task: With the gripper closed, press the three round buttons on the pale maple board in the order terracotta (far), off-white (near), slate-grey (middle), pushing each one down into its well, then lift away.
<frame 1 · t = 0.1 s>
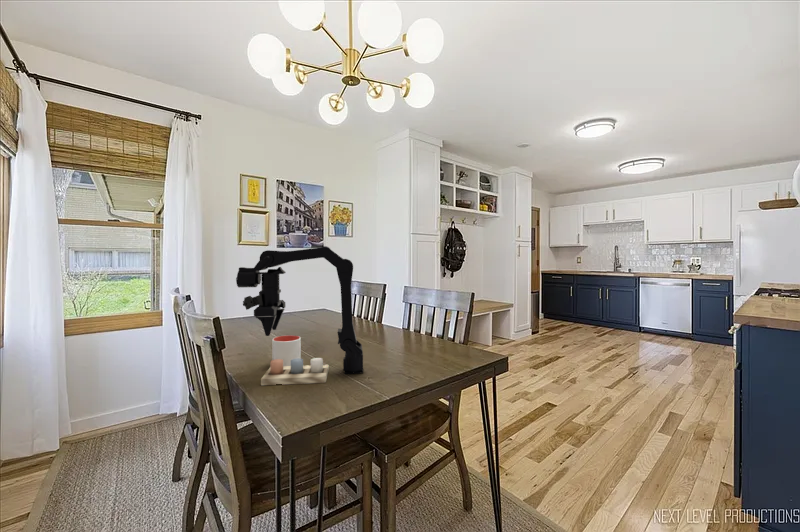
hand: (271, 332, 117), 14 cm above the table, tool pointing down, fingers open, 9 cm apart
button cream: (316, 365, 116), point 4 cm above the table, slide at 0.0 cm
cup: (286, 365, 128), on the table
board: (296, 377, 115), on the table
button slate: (296, 366, 115), point 4 cm above the table, slide at 0.0 cm
button terracotta: (276, 366, 114), point 4 cm above the table, slide at 0.0 cm
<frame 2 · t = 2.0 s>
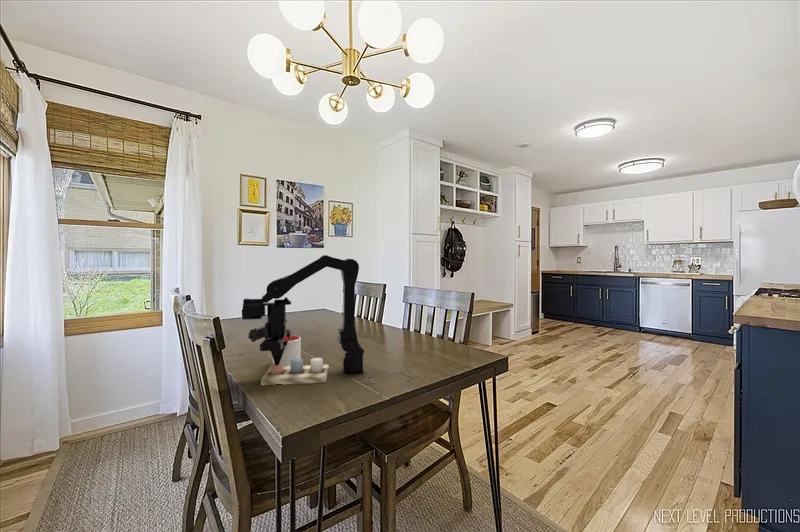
hand: (277, 364, 114), 4 cm above the table, tool pointing down, fingers closed, pressing on button terracotta
button terracotta: (276, 370, 114), point 2 cm above the table, slide at 1.3 cm, touching gripper
everything else where it was.
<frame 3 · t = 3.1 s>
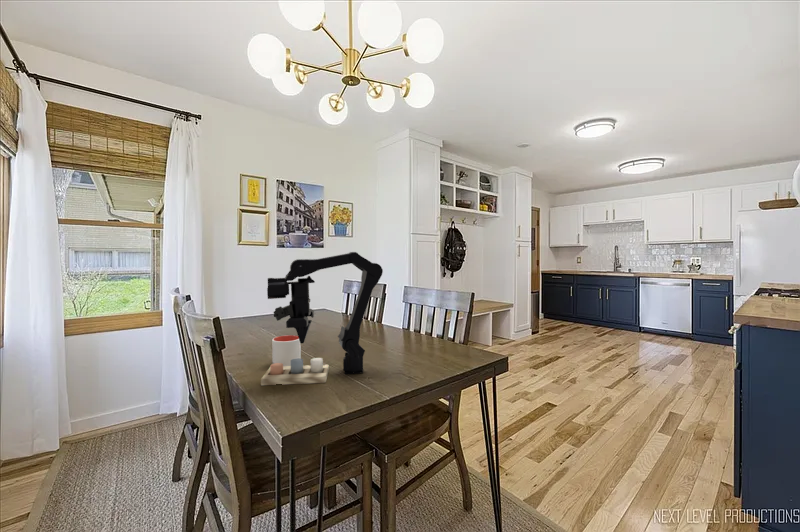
hand: (302, 343, 115), 11 cm above the table, tool pointing down, fingers closed
button terracotta: (276, 370, 114), point 2 cm above the table, slide at 1.3 cm
everything else where it was.
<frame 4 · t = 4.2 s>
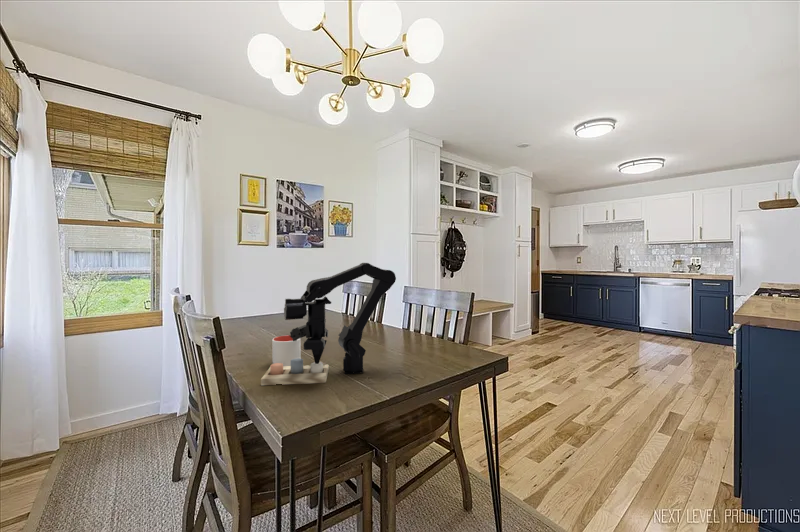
hand: (317, 363, 116), 4 cm above the table, tool pointing down, fingers closed, pressing on button cream
button cream: (316, 369, 116), point 2 cm above the table, slide at 1.3 cm, touching gripper
everything else where it was.
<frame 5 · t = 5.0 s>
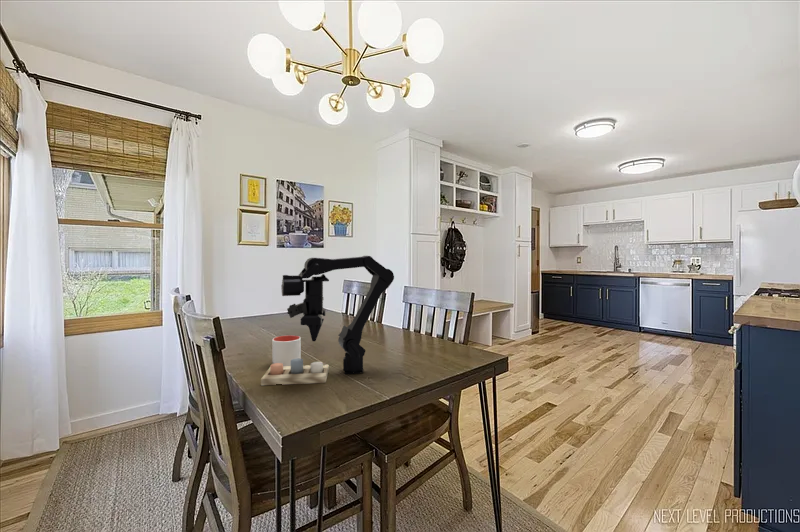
hand: (314, 341, 115), 12 cm above the table, tool pointing down, fingers closed
button cream: (316, 369, 116), point 2 cm above the table, slide at 1.4 cm
everything else where it was.
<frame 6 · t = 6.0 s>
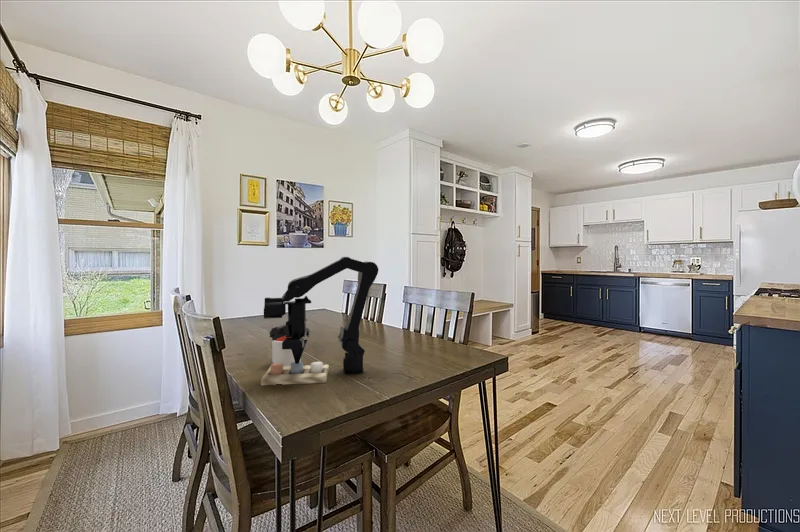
hand: (297, 363, 115), 5 cm above the table, tool pointing down, fingers closed, pressing on button slate
button slate: (296, 369, 115), point 3 cm above the table, slide at 1.0 cm, touching gripper
everything else where it was.
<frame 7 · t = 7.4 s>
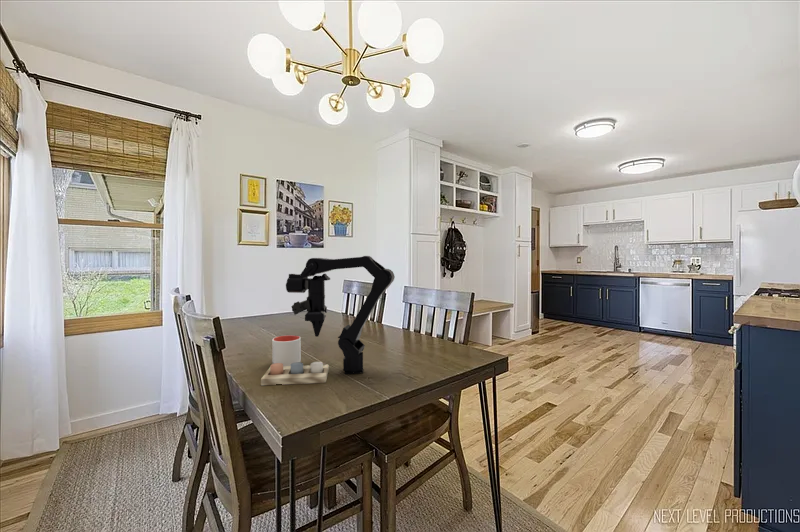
hand: (316, 336, 123), 12 cm above the table, tool pointing down, fingers closed
button slate: (296, 370, 115), point 2 cm above the table, slide at 1.4 cm
everything else where it was.
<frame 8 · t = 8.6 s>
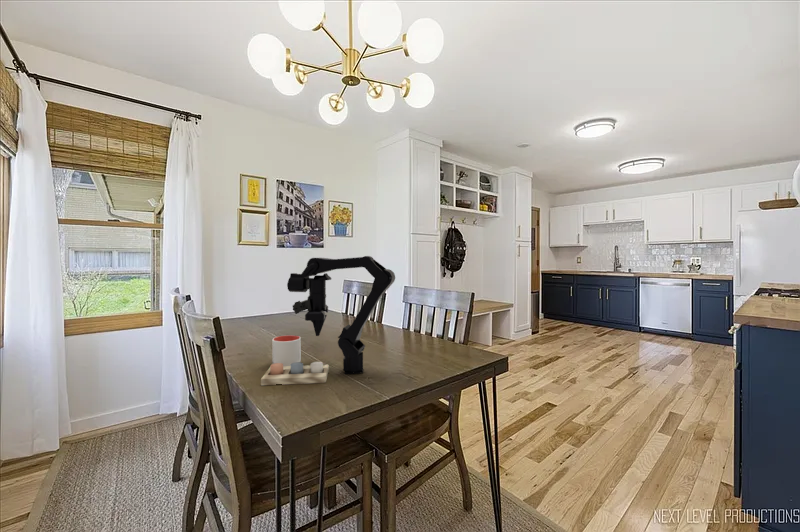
hand: (317, 335, 123), 12 cm above the table, tool pointing down, fingers closed
nothing on the table moved.
at the end: button terracotta slide at 1.3 cm; button cream slide at 1.4 cm; button slate slide at 1.4 cm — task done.
